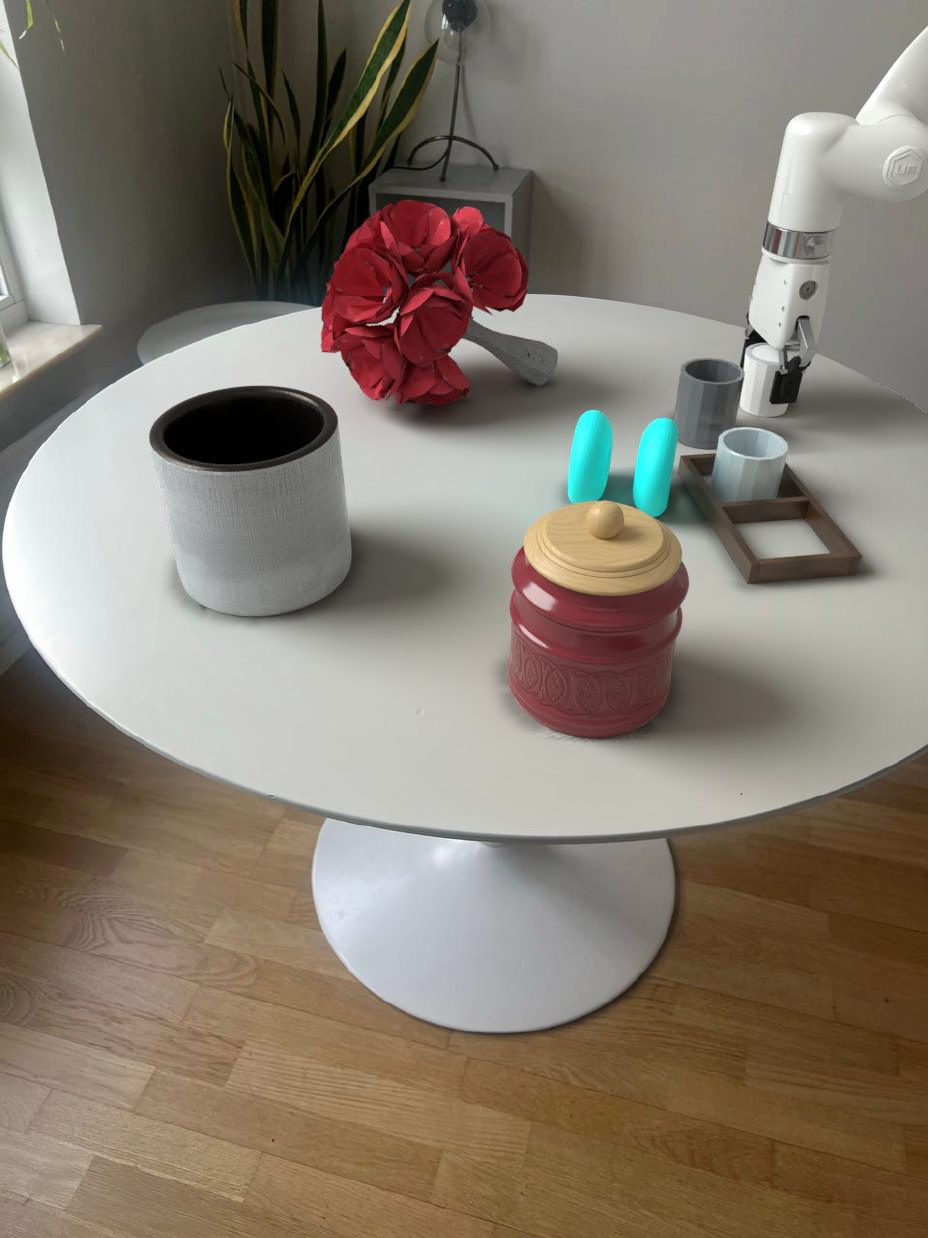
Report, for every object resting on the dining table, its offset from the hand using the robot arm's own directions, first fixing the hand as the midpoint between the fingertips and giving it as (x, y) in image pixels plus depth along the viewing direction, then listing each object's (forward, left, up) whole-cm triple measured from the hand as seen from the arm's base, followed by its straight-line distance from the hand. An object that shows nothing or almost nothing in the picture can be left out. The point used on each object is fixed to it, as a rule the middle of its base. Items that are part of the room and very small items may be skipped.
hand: (766, 385), depth 114 cm
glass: (+11, +21, -3) cm, 24 cm away
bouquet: (+39, -9, -3) cm, 40 cm away
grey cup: (+10, +6, -3) cm, 12 cm away
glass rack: (+11, +26, -3) cm, 28 cm away
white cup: (0, 0, -3) cm, 3 cm away
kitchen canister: (+34, +47, -3) cm, 58 cm away
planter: (+60, +27, -3) cm, 66 cm away
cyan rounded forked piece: (+24, +20, -3) cm, 31 cm away
